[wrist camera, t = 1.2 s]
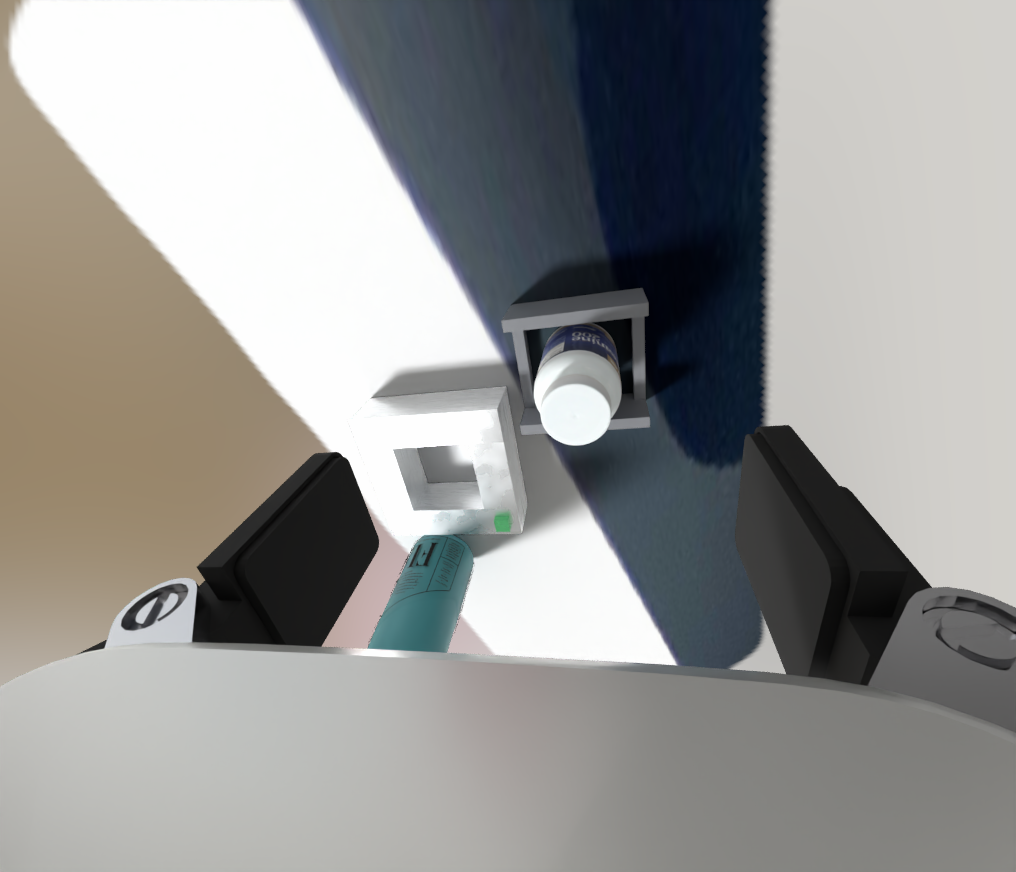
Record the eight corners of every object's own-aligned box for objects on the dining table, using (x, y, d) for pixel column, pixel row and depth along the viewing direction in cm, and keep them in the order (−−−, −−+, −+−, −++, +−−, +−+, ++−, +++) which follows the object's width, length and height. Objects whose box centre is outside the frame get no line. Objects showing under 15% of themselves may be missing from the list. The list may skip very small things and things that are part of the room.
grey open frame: (511, 304, 32) (501, 320, 29) (642, 287, 30) (648, 302, 27) (528, 410, 36) (521, 435, 33) (644, 401, 34) (649, 427, 31)
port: (370, 398, 38) (345, 424, 34) (506, 386, 35) (495, 412, 31) (408, 507, 44) (390, 539, 40) (527, 503, 41) (520, 538, 37)
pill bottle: (632, 349, 32) (646, 411, 24) (583, 400, 35) (580, 471, 27) (575, 303, 31) (569, 351, 23) (529, 359, 34) (509, 420, 26)
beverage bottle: (448, 509, 43) (355, 728, 26) (493, 552, 45) (433, 781, 28) (405, 536, 46) (296, 748, 29) (449, 575, 48) (371, 795, 31)
